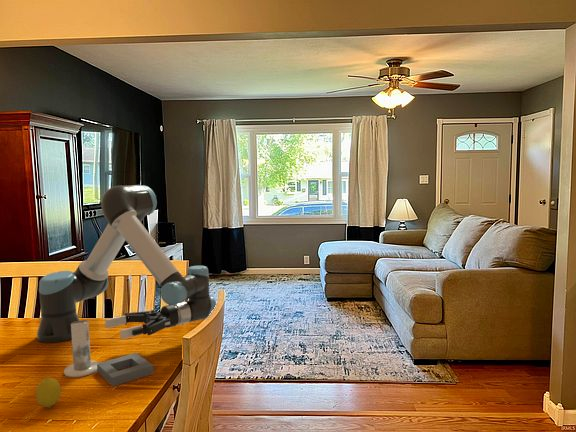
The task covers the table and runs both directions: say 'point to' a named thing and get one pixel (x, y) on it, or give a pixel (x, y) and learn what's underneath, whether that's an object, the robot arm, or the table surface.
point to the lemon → (48, 392)
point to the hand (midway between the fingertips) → (112, 329)
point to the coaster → (71, 372)
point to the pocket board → (118, 377)
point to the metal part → (81, 345)
